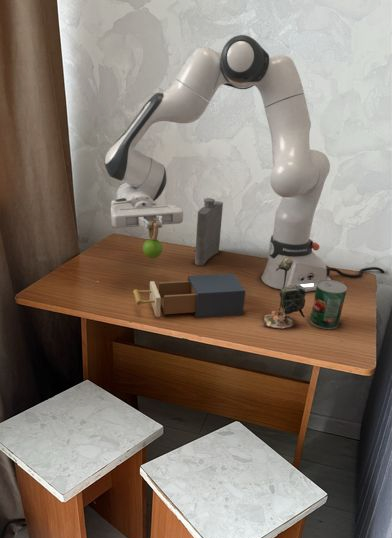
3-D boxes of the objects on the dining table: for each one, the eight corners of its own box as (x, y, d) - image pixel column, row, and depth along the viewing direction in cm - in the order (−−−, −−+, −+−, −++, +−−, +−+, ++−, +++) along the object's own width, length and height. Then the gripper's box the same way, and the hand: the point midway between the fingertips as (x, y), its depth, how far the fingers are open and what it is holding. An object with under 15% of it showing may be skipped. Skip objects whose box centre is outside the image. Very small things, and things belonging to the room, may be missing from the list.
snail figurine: (147, 263, 135) (147, 220, 129) (140, 255, 140) (139, 213, 134) (166, 261, 137) (167, 218, 131) (158, 253, 142) (158, 211, 136)
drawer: (137, 318, 132) (137, 298, 129) (132, 300, 140) (132, 282, 137) (200, 313, 136) (201, 295, 132) (192, 297, 144) (193, 279, 141)
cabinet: (196, 317, 135) (197, 293, 131) (186, 299, 144) (188, 275, 140) (242, 314, 138) (245, 290, 134) (230, 296, 148) (233, 273, 144)
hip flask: (201, 266, 165) (205, 206, 155) (190, 263, 167) (194, 204, 156) (220, 251, 178) (225, 194, 167) (209, 248, 179) (213, 192, 168)
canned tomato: (344, 325, 136) (353, 288, 131) (324, 331, 133) (332, 294, 127) (323, 312, 142) (331, 277, 136) (303, 319, 138) (310, 282, 132)
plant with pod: (302, 333, 131) (317, 263, 120) (260, 327, 133) (270, 257, 122) (303, 319, 138) (317, 251, 127) (263, 313, 139) (272, 245, 129)
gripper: (174, 218, 148) (190, 233, 138) (106, 222, 142) (117, 239, 131) (175, 196, 145) (191, 211, 134) (105, 200, 138) (117, 216, 128)
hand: (154, 225), depth 133 cm, fingers closed on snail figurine
